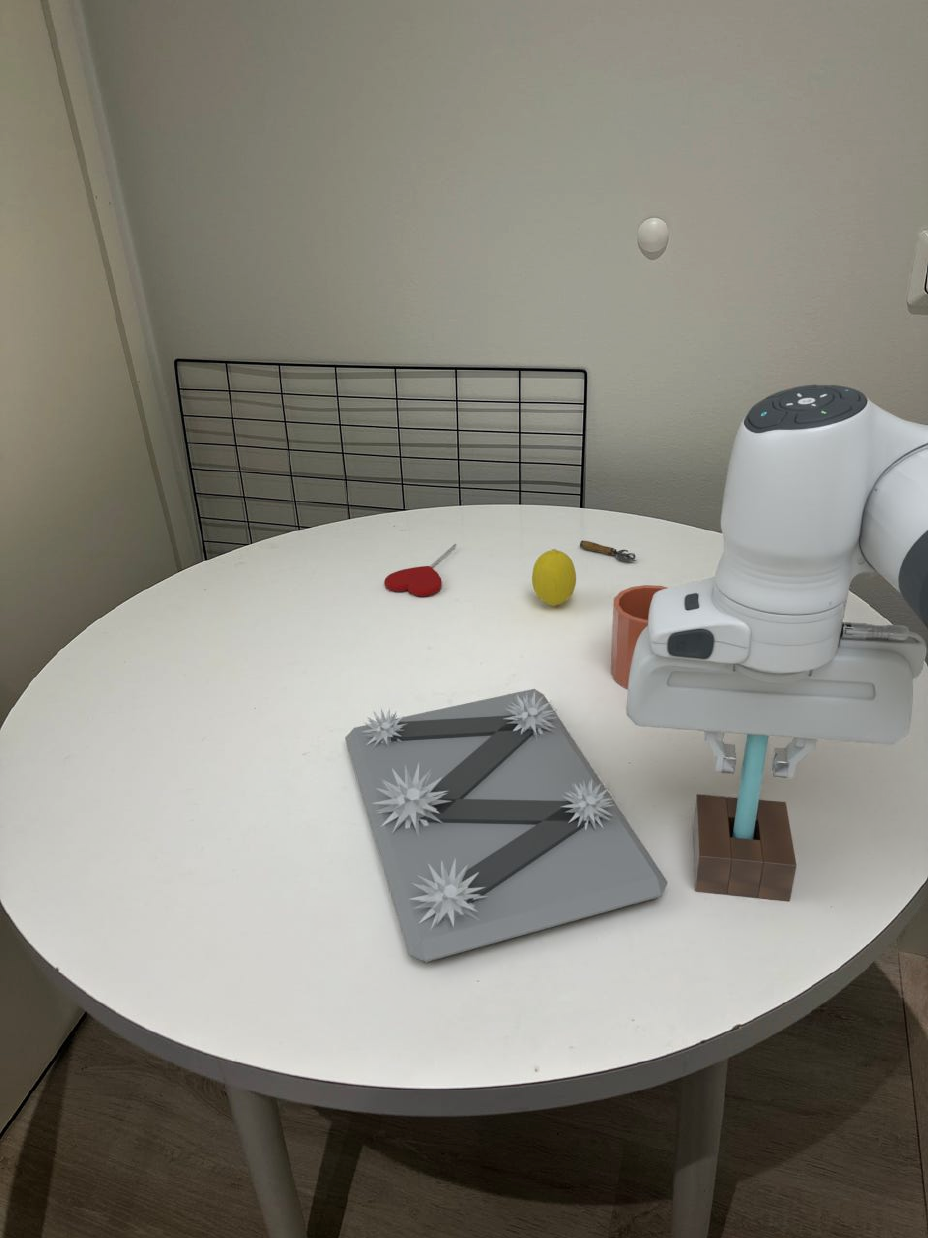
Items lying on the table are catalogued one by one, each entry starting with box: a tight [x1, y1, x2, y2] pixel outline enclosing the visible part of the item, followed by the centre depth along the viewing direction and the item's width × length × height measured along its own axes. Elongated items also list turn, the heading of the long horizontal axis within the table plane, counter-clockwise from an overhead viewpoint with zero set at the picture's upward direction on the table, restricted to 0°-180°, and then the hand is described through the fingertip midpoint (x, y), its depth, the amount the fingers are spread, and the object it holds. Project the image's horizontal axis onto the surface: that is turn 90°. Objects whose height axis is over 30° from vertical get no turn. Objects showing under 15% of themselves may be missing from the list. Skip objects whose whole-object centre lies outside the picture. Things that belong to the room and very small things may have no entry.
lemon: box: [531, 548, 577, 607], centre depth 113 cm, size 6×6×8 cm
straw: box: [732, 734, 770, 839], centre depth 72 cm, size 2×2×15 cm
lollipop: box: [383, 543, 457, 597], centre depth 125 cm, size 8×1×15 cm
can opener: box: [579, 539, 637, 562], centre depth 126 cm, size 9×2×1 cm, turn 49°
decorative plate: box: [345, 688, 668, 963], centre depth 80 cm, size 30×22×7 cm
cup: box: [610, 584, 669, 690], centre depth 98 cm, size 8×8×9 cm
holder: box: [692, 793, 798, 902], centre depth 75 cm, size 7×7×4 cm
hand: (752, 770), depth 71 cm, fingers open, 3 cm apart
